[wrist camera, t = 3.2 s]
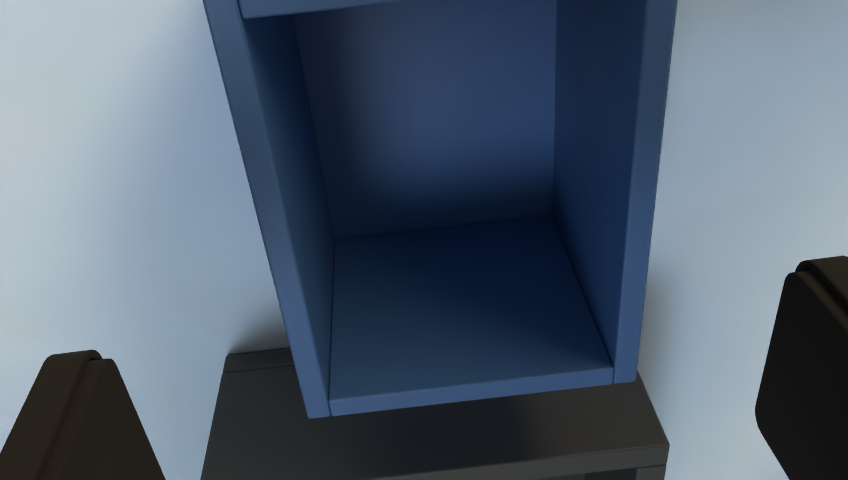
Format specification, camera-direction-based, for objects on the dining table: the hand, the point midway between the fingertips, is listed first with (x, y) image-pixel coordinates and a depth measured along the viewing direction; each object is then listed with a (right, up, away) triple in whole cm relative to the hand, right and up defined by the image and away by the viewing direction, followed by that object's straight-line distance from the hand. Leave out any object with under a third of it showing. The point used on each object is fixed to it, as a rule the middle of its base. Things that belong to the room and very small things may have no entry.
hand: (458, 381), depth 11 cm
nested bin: (0, +6, +8) cm, 10 cm away
